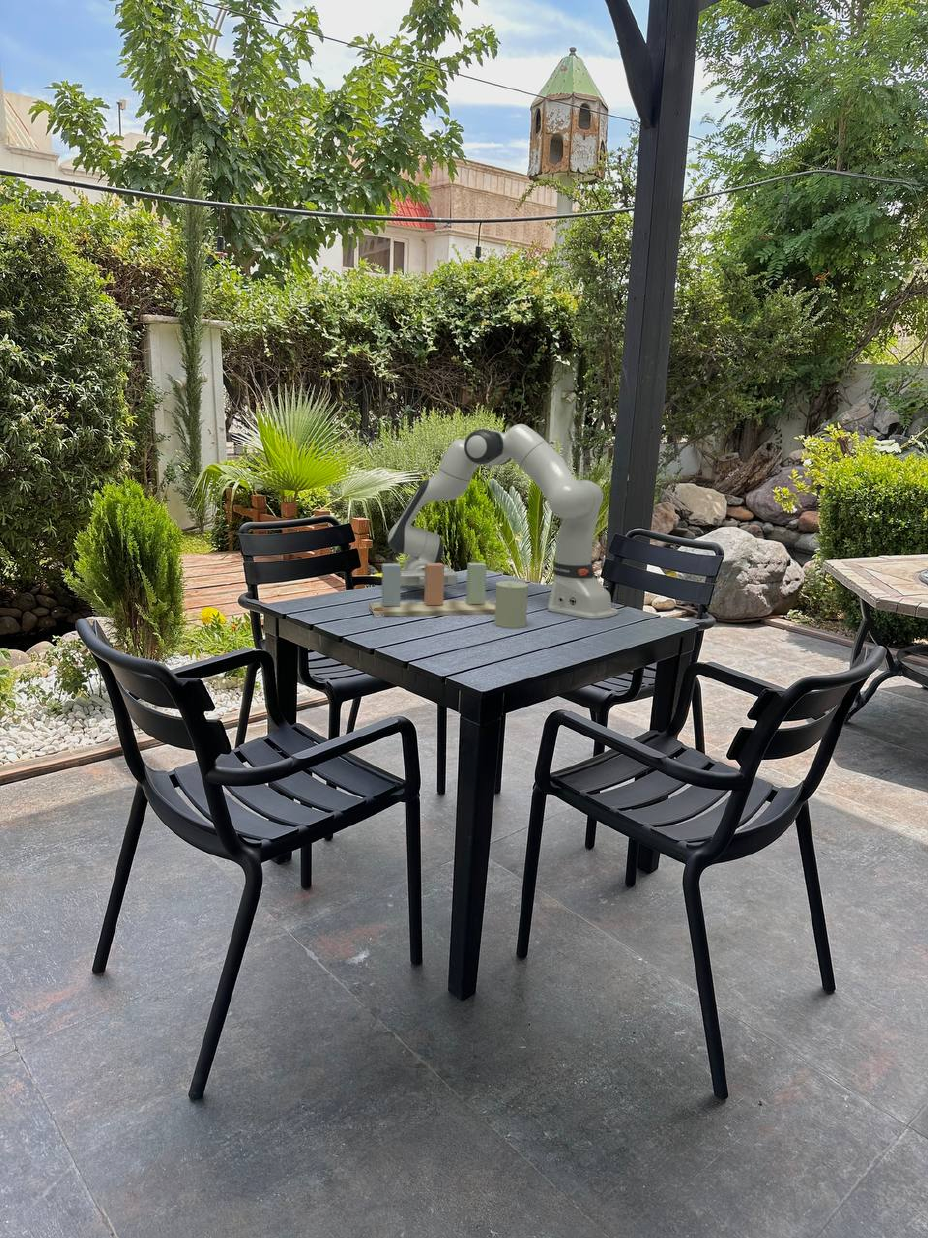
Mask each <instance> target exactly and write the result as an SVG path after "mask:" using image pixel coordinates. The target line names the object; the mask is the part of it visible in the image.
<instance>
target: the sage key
mask: <svg viewBox="0 0 928 1238" xmlns="http://www.w3.org/2000/svg"><path fill="white" fill-rule="evenodd" d="M466 566H467V567H466V593H465V595H466V597H465V599H466V600H465V601H466V602H467V603H468V604H485V600H486V594H487V593H486V592H487V566H488V565H487V564H486V563H485V562H467V565H466Z"/></svg>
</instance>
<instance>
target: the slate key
mask: <svg viewBox="0 0 928 1238" xmlns="http://www.w3.org/2000/svg"><path fill="white" fill-rule="evenodd" d="M401 571H402V566H401V564H400V563H397V562H396V563H394V562H391V563H381V603H382V604H383V606H400V602H402V601H401V593H402V592H401V587H402V586H401Z"/></svg>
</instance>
